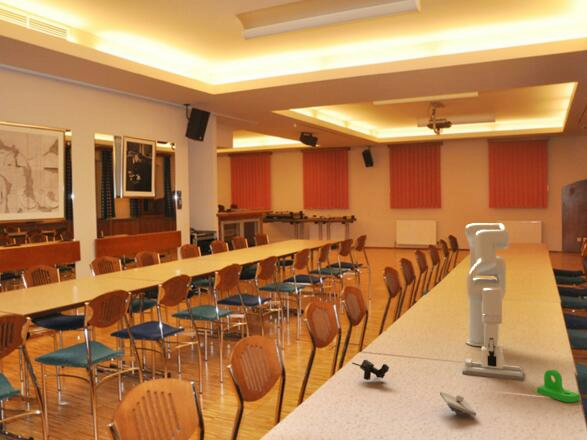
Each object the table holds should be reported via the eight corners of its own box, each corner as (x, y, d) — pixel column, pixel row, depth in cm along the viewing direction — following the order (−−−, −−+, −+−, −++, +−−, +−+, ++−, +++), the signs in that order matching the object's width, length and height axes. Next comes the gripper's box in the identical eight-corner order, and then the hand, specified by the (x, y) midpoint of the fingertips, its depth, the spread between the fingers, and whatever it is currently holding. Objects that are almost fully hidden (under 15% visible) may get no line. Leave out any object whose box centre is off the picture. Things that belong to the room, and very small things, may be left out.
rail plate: (464, 366, 217) (464, 356, 217) (522, 372, 208) (522, 362, 208) (462, 373, 208) (462, 363, 207) (522, 380, 199) (522, 369, 199)
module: (482, 363, 212) (482, 346, 212) (503, 365, 208) (503, 347, 208) (481, 366, 207) (481, 349, 207) (502, 368, 204) (502, 351, 204)
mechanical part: (537, 392, 186) (537, 370, 185) (547, 389, 189) (547, 367, 188) (569, 403, 175) (569, 379, 175) (579, 400, 178) (579, 376, 178)
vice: (390, 390, 203) (371, 374, 212) (401, 371, 203) (381, 355, 211) (362, 385, 192) (343, 368, 200) (374, 364, 191) (354, 348, 200)
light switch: (466, 404, 175) (466, 389, 174) (477, 417, 165) (477, 401, 165) (438, 405, 175) (438, 389, 174) (447, 417, 165) (448, 401, 165)
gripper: (483, 313, 217) (483, 357, 217) (480, 322, 201) (480, 369, 201) (502, 315, 214) (503, 358, 214) (501, 323, 198) (501, 371, 198)
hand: (492, 363), depth 208 cm, fingers closed on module, 5 cm apart
